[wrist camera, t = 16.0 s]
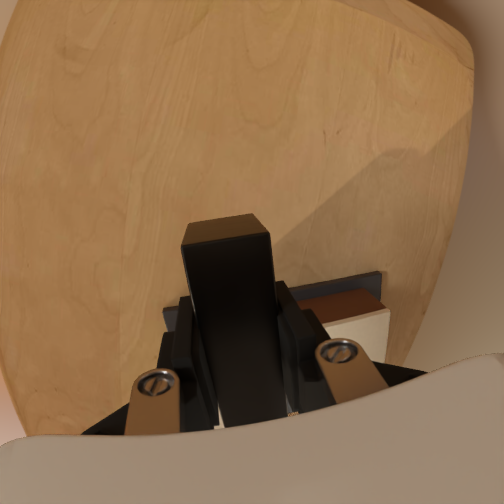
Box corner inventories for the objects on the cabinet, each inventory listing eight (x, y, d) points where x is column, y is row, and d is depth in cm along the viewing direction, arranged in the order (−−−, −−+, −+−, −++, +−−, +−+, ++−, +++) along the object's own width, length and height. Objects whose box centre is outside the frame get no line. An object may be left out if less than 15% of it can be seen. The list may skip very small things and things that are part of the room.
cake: (163, 307, 26) (154, 344, 20) (378, 270, 28) (411, 294, 22) (198, 423, 30) (199, 462, 25) (367, 386, 32) (389, 418, 27)
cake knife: (187, 223, 11) (175, 260, 7) (253, 212, 11) (280, 243, 7) (250, 488, 16) (260, 540, 12) (285, 482, 17) (299, 532, 12)
